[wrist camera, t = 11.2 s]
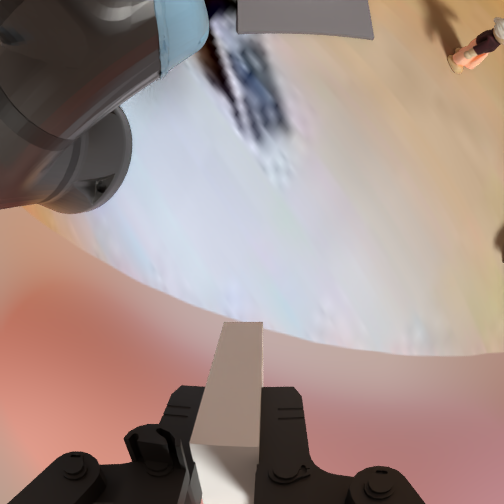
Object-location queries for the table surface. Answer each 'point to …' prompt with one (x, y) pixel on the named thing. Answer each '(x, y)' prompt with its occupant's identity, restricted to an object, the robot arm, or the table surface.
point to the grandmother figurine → (478, 48)
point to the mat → (306, 17)
